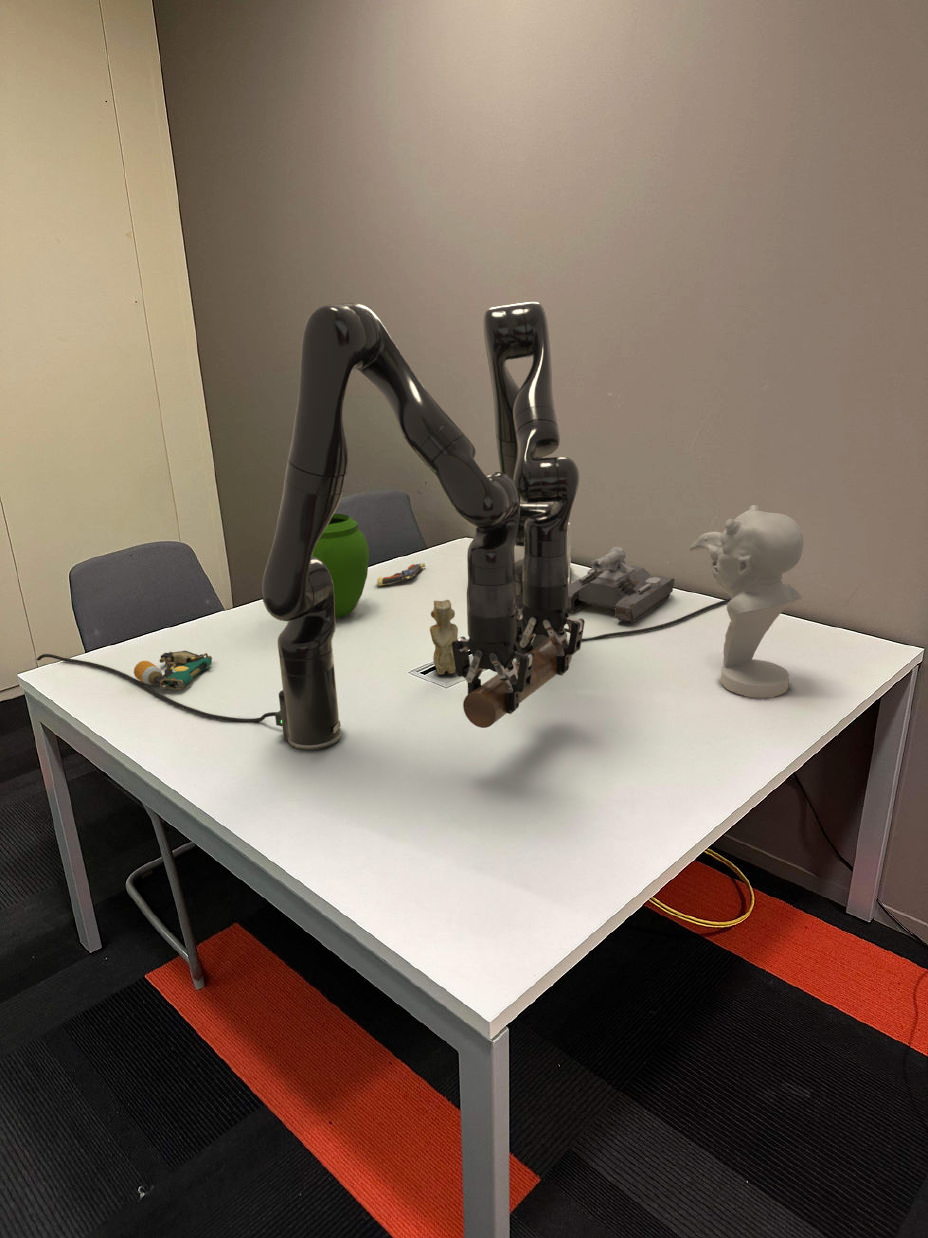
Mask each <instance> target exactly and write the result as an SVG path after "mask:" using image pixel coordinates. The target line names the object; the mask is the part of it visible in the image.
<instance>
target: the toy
mask: <svg viewBox="0 0 928 1238" xmlns="http://www.w3.org/2000/svg"><path fill="white" fill-rule="evenodd" d="M626 557H627V556H626V551H625V549H624V548H622V547H621V546H614V547H612V548H611V549H610V550H609V552H608V553H607V554H605V555H604V556H601V557H599V558H598V559H597V557H596V558H594V559H593V560H592V561H590V562H589V563H590V564H591V565H592V567H591V568H590V569H589V570H587V573H586V575H584V576H582V577H580V578H578V579H577V580H575V581H573V582H570V583H569V585H568V603H567V612H572V613H575V612H577V611H579V610H581V609H582V608H585V607H586V606H588V605H592V606H598V607H602V608H603V607H604V608H609V609H613V610H614V618H615V619H617V620H618V621H621V622H626V623H631V624H634V623H635V622H637V621H638V620H640V619H641V618H642V617H644V616H645V615H647V614H648V613H650V612H651V611H652V610H654V609H655V608H657V607H659V606H660V605H661V604H663V603H664V602H666V601H667V600H669V598H670V596H671V594H672V593H673V591H674V585H675V580H676V579H675V578H673V577H668V576H663V575H656V576H655V577H654V576H651V574H650V573H649V572H648V571H647V570H646V568H644V567H641V566H635V565H629V564H628V563H627V562H626V561H625V559H626Z"/></svg>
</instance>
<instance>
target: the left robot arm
mask: <svg viewBox="0 0 928 1238" xmlns="http://www.w3.org/2000/svg"><path fill="white" fill-rule="evenodd" d="M300 351H301V352H300V366H299V367H300V369H299V384H298V385H299V386H298V395H297V396H298V398H297V405H296V410H295V416H294V423H293V429H292V436H291V443H290V447H289V452H288V455H287V463H286V469H285V475H284V482H283V491H282V496H281V502H280V506H279V512H278V516H277V522H276V528H275V533H274V537H273V541H272V546H271V549H270V552H269V554H268V559H267V563H266V565H265V569H264V573H263V576H262V580H261V597H262V602H263V605H264V607H265V609H266V611H267V612H268V614H269V615H270V616H271V617H272V618H273V619H275V620H278V621H281V622H287V623H286V625H285V627H284V628H283V629H282V631H281V632H280V634H279V635H278V637H277V652H278V659H279V668H280V677H281V686H282V689H281V690H280V691H279V692H278V701H279V711H271V712H266V713H264V714H262V715H261V716H260V717H255V718H242V717H241V718H240V717H231V716H225V715H218V714H213V713H208V712H205V711H201V710H198V709H196V708H193V707H190V706H188V705H184V704H182V703H180V702H178V701H175V700H173V699H171V698H169V697H168V696H165V695H163V694H161V693H160V692H159V691H158V690H157V691H156V690H155V689H153V688H152V687H150V686H149V685H147V684H145V683H143V682H142V681H140V680H139V679H137V678H134V677H132V676H131V675H128V674H126V673H124V672H122V671H120V670H118V669H114V668H112V667H109V666H106V665H103V664H99V663H95V662H91V661H86V660H81V659H74V658H68V657H63V656H59V655H55V654H51V653H43V654H41V655H39V656H38V657H37V658H36V661H41V660H43V658H51V659H55V660H57V661H61V662H67V663H73V664H74V663H75V664H80V665H85V666H89V667H94V668H98V669H102V670H105V671H107V672H108V671H109V672H111V673H114V674H116V675H119V676H120V677H123V678H125V679H127V680H129V681H131V682H133V683H135V684H136V685H138V686H139V687H141V688H143V689H145V690H146V691H148V692H150V693H151V694H153V695H154V696H156V697H157V698H160V699H161V700H164V701H165V702H168V703H170V704H171V705H173V706H175V707H177V708H179V709H183V710H185V711H188V712H191V713H193V714H196V715H199V716H202V717H206V718H210V719H214V720H219V721H221V720H222V721H228V722H234V723H260V722H263V721H264V720H265V719H266V718H268V717H274V718H275V725H276V726H278V727H282V736H283V737H282V738H283V741H284V742H287V743H288V744H289V745H290V746H291V747H293V748H295V749H297V750H301V751H302V750H303V751H317V750H322V749H325V748H329V747H331V746H333V745H335V744H336V743H337V742H338V741H340V739H341V737H342V736H341V735H342V732H341V728H340V727H341V725H342V724H341V720H340V717H339V704H338V693H337V692H338V691H337V684H336V683H337V682H336V671H335V661H334V660H335V659H334V649H333V638H334V635H335V632H336V619H335V599H334V586H333V581H332V578H331V575H330V572H329V570H328V569H327V567H326V566H325V564H324V563H323V562H322V561H320V560H319V559H318V558H316V557H312V555H313V552H314V549H315V546H316V544H317V542H318V540H319V539H320V537H321V535H322V533H323V532H324V530H325V529H326V527H327V525H328V524H329V522H330V520H331V519H332V517H333V515H334V514H336V511H337V510H338V507H339V506H340V504H341V500H342V498H343V495H344V490H345V485H346V481H347V475H348V471H349V464H350V450H349V443H348V439H347V434H346V430H345V425H344V419H343V418H344V417H343V411H344V410H343V409H344V402H345V397H346V392H347V387H348V383H349V380H350V376H351V374H352V371H355V370H357V371H358V372H360V373H361V374H362V375H363V376H364V377H366V378H367V379H368V380H369V381H370V382H371V383H372V384H373V385H374V386H375V387H376V388H377V390H378V391H379V392H380V393H381V395H382V396H383V398H384V399H385V401H386V403H387V404H388V406H389V408H390V410H391V413H392V415H393V417H394V420H395V422H396V425H397V427H398V429H399V431H400V433H401V435H402V436H403V438H404V439H405V441H406V442H407V444H408V446H410V448H411V449H412V450H413V452H414V453H415V454H416V455H417V456H418V457H419V458H420V460H421V461H422V462H423V463H424V464H425V465H426V467H428V469H430V471H431V472H432V473H433V474H434V475H435V476H436V478H437V479H438V481H439V483H440V486H441V488H442V489H443V491H444V493H445V494H446V496H447V498H448V499H449V501H450V504H451V505H452V506H453V508H454V509H455V511H456V513H457V514H458V515H459V517H461V518H462V519H463V520H464V521H465V522H466V523H468V524H469V525H471V526H472V527H474V528H475V532H474V535H473V536H474V537H473V539H472V541H470V544H468V549H467V555H466V556H467V557H466V558H467V586H466V587H467V588H466V615H467V616H466V620H467V623H466V626H467V636H468V639H467V637H465V636H460V637H457V640H455V641H453V642H452V649H453V656H454V662H455V673H456V675H457V677H460V678H461V677H462V678H464V679H465V681H466V682H467V695H468V694H470V693H471V692H472V691H474V690H475V689H477V688H478V687H480V686H481V685H482V679H481V678H480V677H481V675H482V673H483V670H490V671H492V672H494V673H497V674H498V676H499V679H500V680H502V681H503V683H504V685H505V688H506V690H507V692H505V702H506V713H507V714H508V715H512V714H513V713H514V712H515V711H516V710H517V709H518V708H519V707H520V703H519V692H522V691H524V690H525V689H526V688H527V687H529V686H530V685H531V680H532V673H533V666H534V660H535V654H534V653H533V652H529V653H524V652H522V651H519V650H518V647H517V645H516V642H515V640H516V635H517V595H516V586H515V563H514V561H515V560H514V546H515V541H516V536H517V530H518V523H519V516H520V502H521V500H520V494H519V490H518V487H517V485H516V483H515V481H514V480H513V479H512V478H511V477H510V476H508V475H507V474H505V473H501V472H500V471H493V472H489V473H487V474H485V473H484V471H483V470H482V469H481V467H480V465H479V464H478V463H477V461H476V459H475V456H476V448H475V446H474V444H473V443H472V441H471V440H470V439H469V438H468V437H467V436H466V434H465V433H464V432H463V431H462V430H461V429H460V427H459V426H458V425H457V424H456V423H455V421H453V420H452V418H451V417H450V416H449V415H448V413H446V411H445V410H443V408H442V407H441V406H440V405H439V403H438V402H437V401H436V400H435V398H433V396H432V395H431V394H430V393H429V391H428V389H426V386H424V385H423V383H422V382H421V380H420V379H419V377H418V376H417V374H416V373H415V372H414V370H413V369H412V367H411V366H410V364H409V363H408V361H407V360H406V358H405V356H404V355H403V354H402V353H401V351H400V349H399V348H398V346H397V345H396V343H395V342H394V340H393V338H392V337H391V335H390V333H389V331H388V330H387V328H386V326H385V325H384V324H383V322H382V321H381V320H380V318H379V317H378V316H377V314H376V313H375V312H374V311H373V310H372V309H370V308H369V307H368V306H366V305H364V304H362V303H358V302H344V303H331V304H325V305H320V306H318V307H317V308H316V309H314V310H313V311H312V312H311V314H310V315H309V316H308V318H307V320H306V322H305V325H304V329H303V333H302V340H301V350H300ZM469 652H470V653H471V655H472V657H473V658H472V660H471V661H470V655H469ZM515 659H516V661H517V666H519V671H518V676H517V668H516V666H515V663H514V662H515V661H514V660H515ZM506 668H508V670H507V671H505V669H506ZM497 674H496V675H497Z"/></svg>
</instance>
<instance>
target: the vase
mask: <svg viewBox="0 0 928 1238" xmlns="http://www.w3.org/2000/svg"><path fill="white" fill-rule="evenodd" d="M358 524H359V523H358V521H356V520H355V519H353V518H352V517H350V516H349V515H347V514H344V513H334V515H333V517H332V519H331V520H330V522H329V524H328V525H327V527H326V529H325V530H324V532H323V533H322V535H321V537H320V539H319V540H318V542H317V544H316V546H315V549H314V552H313V555H312V557H316V558H318V559H319V560H320V561H322V562H323V563H324V564H325V566H326V567H327V569H328V570H329V572H330V575H331V578H332V581H333V586H334V599H335V620H336V619H341V618H345V617H347V616H349V615H350V614H351V613H352V612H353V611H354V610H355V608H356V607H357V605H358V604H359V601H360V599H361V597H362V595H363V592H364V588H365V586H366V581H367V578H368V570H369V561H370V560H369V559H370V548H369V545H368V541H367V537H366V535H365V534H364V533H363V532H362V531H361V530H360V529H359V527H358Z"/></svg>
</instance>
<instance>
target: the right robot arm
mask: <svg viewBox="0 0 928 1238" xmlns="http://www.w3.org/2000/svg"><path fill="white" fill-rule="evenodd" d="M483 337H484V343H485V351H486V357H487V362H488V369H489V376H490V383H491V389H492V396H493V411H494V426H495V438H496V439H495V440H496V449H497V455H498V463H499V472H501V473H505V474H507V475H508V476H510V477H511V478H512V479H513V480H514V481H515V483H516V485H517V487H518V490H519V494H520V516H519V523H518V530H517V536H516V541H515V546H520V547H524V559H521V560H518V561H516V562H515V586H516V595H517V635H516V640H515V642H516V645H517V647H518V650H519V651H522V652H524V653H528V652H530V651H531V650H533V649H534V648H535V647H537V646H538V645H540V644H541V643H543V642H544V641H546V640H547V639H549V638H550V639H551V642H552V644H553V645H555V647H556V649H557V652H558V654H559V655H557V675H556V676H561V677H562V676H564V674H566V673H567V671H569V668H570V664H569V655H572V656H573V655H575V653H577V652H578V651H581V646H582V642H589V641H597V640H601V639H605V638H610V637H617V636H625V635H633V634H639V633H646V632H651V631H654V630H658V629H663V628H665V627H668V626H671V625H675V624H677V623H681V622H682V621H685V620H687V619H689V618H692V617H694V616H697V615H698V614H701V613H703V612H705V611H708V610H710V609H713V608H716V607H718V606H720V605H723V604H728V603H729V601H730V600H731V599H732V598H726V599H724V600H720V601H718V602H715V603H712V604H710V605H707V606H705V607H702V608H700V609H698V610H696V611H694V612H691V613H688V614H687V615H684V616H682V617H680V618H679V617H678V618H677V619H674V620H672V621H669V622H666V623H662V624H658V625H655V626H650V627H645V628H640V629H633V630H627V631H625V630H624V631H617V632H616V631H615V632H609V633H604V634H600V635H597V636H593V637H589V638H583V634H584V629H585V620H584V618H582V617H581V618H580V617H579V618H578V619H577V618H575V617H571V616H570V614H569V611H567V603H568V577H569V573H568V559H567V527H568V522H569V521H570V517H571V512H572V509H573V505H574V502H575V498H576V496H577V493H578V489H579V485H580V471H579V468H578V465H577V464H576V462H575V461H574V460H573V459H572V458H570V457H568V456H556V457H555V456H554V457H548V456H549V455H552V454H554V452H556V451H557V449H558V448H559V446H560V443H561V435H560V429H559V425H558V420H557V414H556V409H555V404H554V394H553V374H552V373H553V370H552V369H553V368H552V355H551V342H550V333H549V324H548V318H547V315H546V311H545V309H544V307H543V305H542V304H541V303H539V302H538V301H527V302H520V303H513V304H511V303H510V304H505V305H498V306H493V307H490V308H488V309H487V310H486V311H485V312H484V315H483ZM529 358H532V363H531V367H530V369H529V372H528V374H527V375H526V378H525V380H524V381H523V383H522V385H521V387H519V385H518V383H516V381H515V380H514V378H513V376H512V374H511V372H510V371H509V368H508V366H507V363H506V362H507V361H514V360H515V361H516V360H523V359H529ZM566 625H567V626H568V628H566ZM568 633H569V640H568Z"/></svg>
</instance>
